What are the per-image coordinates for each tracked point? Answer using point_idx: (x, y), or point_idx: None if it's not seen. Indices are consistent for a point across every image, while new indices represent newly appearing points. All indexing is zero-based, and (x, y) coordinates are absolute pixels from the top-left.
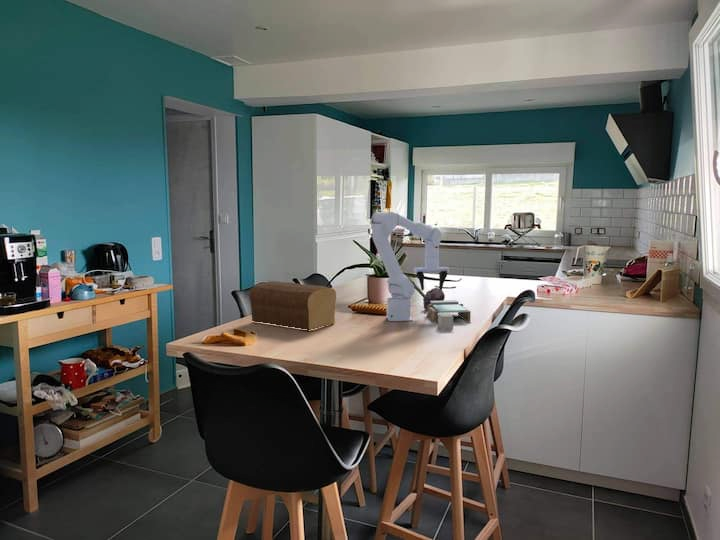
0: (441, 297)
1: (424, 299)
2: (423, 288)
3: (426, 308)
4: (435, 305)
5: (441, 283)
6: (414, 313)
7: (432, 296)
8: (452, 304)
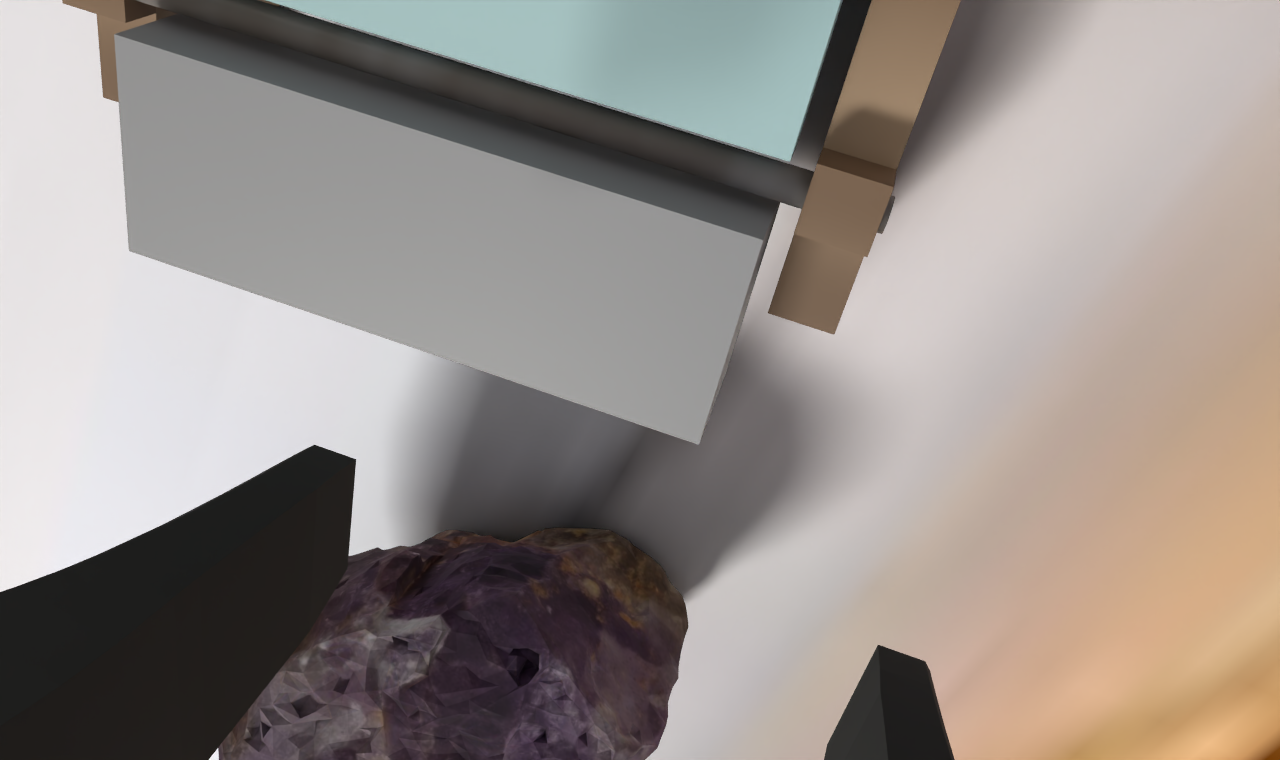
0: (330, 611)
1: (648, 717)
2: (893, 683)
3: (659, 577)
4: (753, 69)
5: (209, 555)
6: (988, 472)
7: (490, 687)
8: (292, 38)
